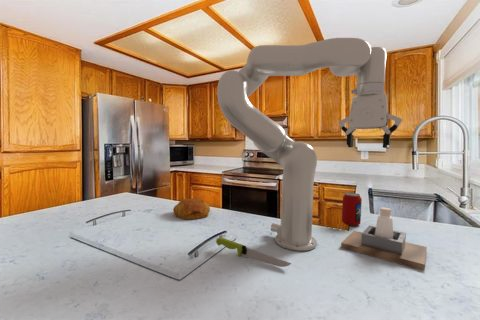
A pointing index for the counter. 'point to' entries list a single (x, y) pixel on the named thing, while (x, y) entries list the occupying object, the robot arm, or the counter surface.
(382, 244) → the metal socket
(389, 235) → the salt shaker
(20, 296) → the counter surface
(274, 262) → the kitchen knife
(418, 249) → the walnut board
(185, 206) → the round bread loaf
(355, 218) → the beverage can
